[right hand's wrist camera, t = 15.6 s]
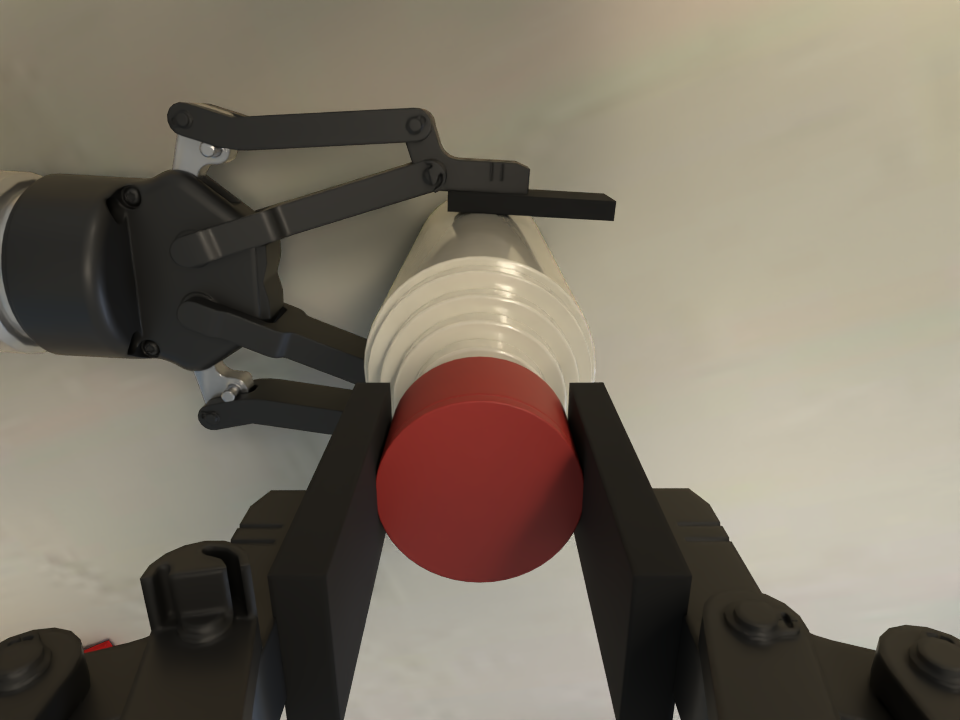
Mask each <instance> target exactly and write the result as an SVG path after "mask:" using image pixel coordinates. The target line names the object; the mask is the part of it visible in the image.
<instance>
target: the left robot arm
mask: <svg viewBox="0 0 960 720" xmlns="http://www.w3.org/2000/svg"><path fill="white" fill-rule="evenodd" d="M167 119H168V123H169V125H170V128H171V129H172V130H173V131H174V132H175V133H177V140H176V147H175V154H174V161H173V169H172V170H168V171H165V172H162V173H161V174H159V175H157V176H155V177H153V178H150V179H143V178H125V177H108V176H90V175H72V174H50V175H46V176H41V175H38V174H35V173H32V172H20V171H0V352H9V353H24V354H38V353H44V352H47V351H48V352H51V353H54V354H58V355H71V356H90V357H110V358H129V359H145V358H158V359H163V360H167V361H170V362H172V363H174V364H176V365H178V366H180V367H182V368H184V369H186V370H190V371H194V374H195V377H196V379H197V382H198V385H199V388H200V390H201V393H202V396H203V398H204V401H205V405H204V406H203V407H202V408H201V409H200V411H199V413H198V419H199V421H200V423H201V425H203V426H204V427H205V428H207V429H210V430H218V429H224V428H229V427H235V426H241V425H246V424H252V423H254V424H261V425H268V426H275V427H282V428H289V429H296V430H303V431H310V432H317V433H324V434H331V435H332V434H333V432H334V430H335V428H336V426H337V423H338V421H339V419H340V417H341V415H342V413H343V410H344V408H345V406H346V404H347V402H348V400H349V397H350V395H351V393H352V391H353V390H350V389H343V388H336V387H329V386H322V385H315V384H309V383H302V382H295V381H288V380H281V379H254V380H253V379H252V375H251V373H249V372H247V371H238V370H232V369H230V368H228V367H227V366H226V365H225V364H224V362H223V359H225V358H226V357H228V356H229V355H231V354H232V353H234V352H236V351H237V350H239V349H240V348H242V347H244V348H247V349H250V350H252V351H255V352H258V353H260V354H263V355H266V356H268V357H272V358H282V357H283V358H288V359H290V360H293V361H296V362H298V363H301V364H304V365H306V366H309V367H312V368H314V369H317V370H320V371H322V372H325V373H327V374H330V375H333V376H335V377H338V378H341V379H343V380H346V381H349V382H351V383H354V384H356V383H366V381H365V372H364V356H365V348H366V343H367V339H365V338H363V337H360V336H357V335H355V334H352V333H350V332H347V331H345V330H342V329H339V328H337V327H334V326H332V325H329V324H327V323H324V322H322V321H319V320H316V319H314V318H311V317H309V316H307V315H306V314H305V312H304V311H302V310H301V309H299V308H296V307H294V306H291V305H289V304H286V303H284V302H283V289H282V286H281V282H280V279H279V276H278V273H277V270H278V265H279V261H280V256H281V244H280V239H283V238H285V237H288V236H291V235H294V234H297V233H300V232H304V231H307V230H310V229H313V228H317V227H320V226H323V225H326V224H330V223H333V222H336V221H339V220H343V219H346V218H349V217H352V216H356V215H359V214H362V213H366V212H369V211H372V210H375V209H379V208H382V207H385V206H388V205H392V204H395V203H398V202H401V201H405V200H408V199H411V198H415V197H418V196H421V195H424V194H428V193H431V192H435V193H436V192H438V191H448V207H447V212H463V213H484V214H499V215H517V216H534V217H552V218H570V219H588V220H606V221H614V215H615V207H616V201H615V200H613V199H612V198H610V197H608V196H607V195H605V194H602V193H584V192H567V191H549V190H532V189H528V187H529V175H530V169H529V168H528V167H527V166H525V165H523V164H521V163H519V162H517V161H508V160H490V159H473V158H458V157H454V156H451V155H450V154H448V153H447V152H446V151H445V150H444V148H443V146H442V144H441V141H440V138H439V135H438V132H437V128H436V125H435V120H434V117H433V116H432V114H431V113H430V112H429V111H427V110H425V109H421V108H401V109H382V110H362V111H343V112H323V113H304V114H284V115H265V116H246V115H243V114H240V113H237V112H234V111H231V110H228V109H224V108H221V107H218V106H215V105H212V104H205V103H184V102H179V103H176V104H173V105H172V106H171V107H170V108H169V111H168V114H167ZM404 142H406V145H407V148H408V151H409V154H410V157H411V160H412V162H411V163H408V164H404V165H401V166H398V167H395V168H392V169H388V170H385V171H382V172H379V173H376V174H372V175H369V176H366V177H363V178H360V179H356V180H353V181H350V182H347V183H343V184H340V185H337V186H334V187H331V188H327V189H324V190H321V191H318V192H315V193H311V194H308V195H305V196H302V197H299V198H295V199H292V200H288V201H285V202H281V203H278V204H275V205H272V206H268V207H265V208H262V209H259V210H256V211H254V210H252V209H251V208H250V207H248V206H247V205H246V204H244V203H243V202H242V201H240V200H239V199H238V198H236V197H235V196H234V195H232V194H231V193H230V192H228V191H227V190H226V189H224V188H223V187H222V186H220V185H219V184H218V183H216V182H215V181H214V180H212V179H211V178H210V177H208V176H207V175H206V173H207V170H208V168H209V167H210V166H211V165H213V164H223V163H228V162H231V161H232V160H234V158H235V157H236V155H237V152H238V150H266V149H286V148H305V147H325V146H345V145H365V144H385V143H404Z"/></svg>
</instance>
